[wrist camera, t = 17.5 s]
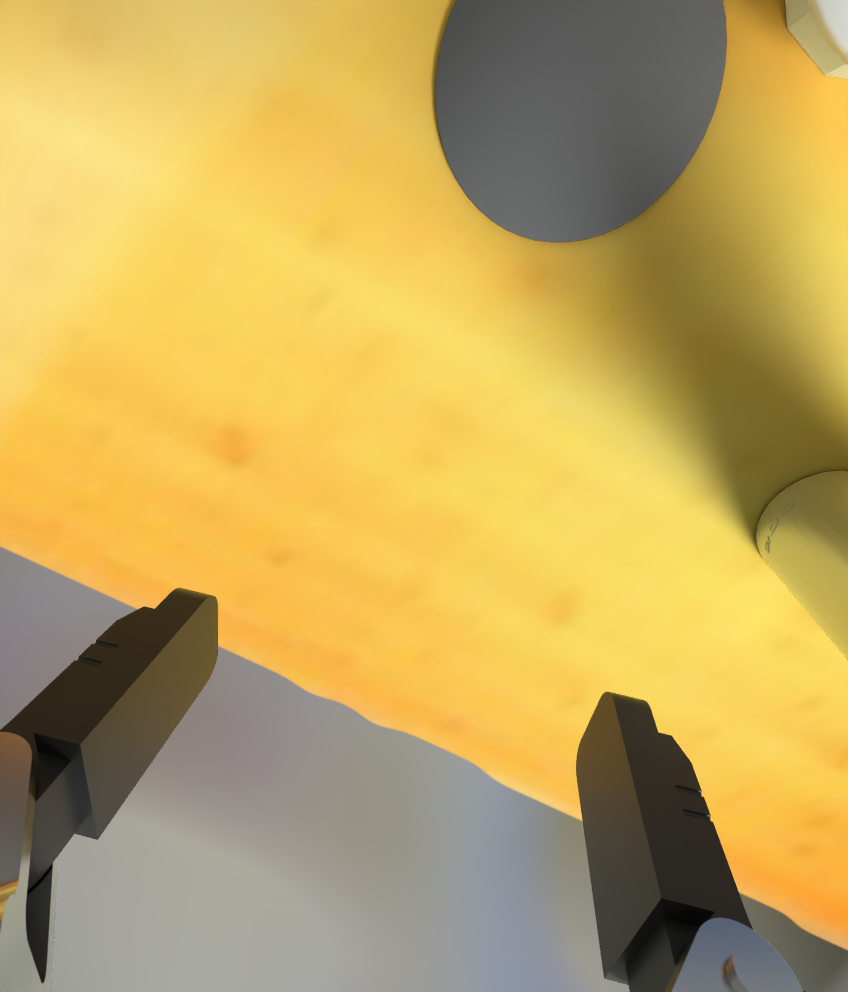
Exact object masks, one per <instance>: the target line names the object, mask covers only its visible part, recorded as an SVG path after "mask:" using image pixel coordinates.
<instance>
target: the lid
mask: <svg viewBox="0 0 848 992" xmlns="http://www.w3.org/2000/svg"><path fill="white" fill-rule="evenodd" d="M807 1H808V5H809V8H810V11H811V13H812V16H813V18H814V20H815V23H816V25H817V27H818V29H819V31H820V33H821V34H822V36H823V37H824V39H825V40H826V42H827V43H828V45H829V47H830V48H831V49H832V50H833V51H834V52H835V53H836V54H837V55H838V57H839V58H840V59H841V60H842V61H843V62H844V63H845V64H847V65H848V0H807Z"/></svg>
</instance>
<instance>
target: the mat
mask: <svg viewBox="0 0 848 992" xmlns="http://www.w3.org/2000/svg"><path fill="white" fill-rule="evenodd" d="M726 44H727V36H726V16H725V11H724V5H723V0H457V1H456V3H455V5H454V8H453V10H452V12H451V15H450V17H449V20H448V23H447V27H446V30H445V33H444V36H443V39H442V44H441V49H440V54H439V59H438V66H437V77H436V112H437V121H438V128H439V133H440V137H441V141H442V146H443V149H444V152H445V155H446V157H447V160H448V163H449V166H450V168H451V170H452V172H453V174H454V176H455V178H456V180H457V182H458V183H459V185H460V186H461V188H462V189H463V191H464V192H465V194H466V195H467V197H468V198H469V199H470V200H471V201H472V203H473V204H474V205H475V206H476V207H477V208H478V209H479V210H480V211H481V212H482V213H483V214H484V215H485V216H487V217H488V218H489V219H490V220H491V221H493V222H494V223H496V224H497V225H499V226H501V227H502V228H504V229H505V230H508V231H510V232H512V233H514V234H517V235H519V236H522V237H525V238H529V239H533V240H536V241H545V242H572V241H578V240H584V239H588V238H591V237H595V236H598V235H601V234H604V233H606V232H609V231H611V230H613V229H615V228H618V227H620V226H622V225H623V224H625V223H627V222H628V221H630V220H632V219H633V218H635V217H636V216H638V215H639V214H640V213H642V212H643V211H644V210H646V209H647V208H648V207H649V206H651V205H652V204H653V203H654V202H655V201H656V200H657V199H658V198H659V197H660V196H662V195H663V194H664V193H665V192H666V191H667V190H668V189H669V187H670V186H671V185H672V184H673V183H674V181H675V180H676V179H677V178H678V177H679V175H680V174H681V173H682V172H683V170H684V169H685V167H686V166H687V164H688V163H689V161H690V160H691V158H692V157H693V155H694V154H695V152H696V150H697V148H698V146H699V144H700V142H701V140H702V139H703V137H704V135H705V133H706V130H707V128H708V125H709V123H710V121H711V118H712V116H713V113H714V110H715V107H716V103H717V100H718V97H719V93H720V90H721V85H722V79H723V74H724V68H725V58H726Z"/></svg>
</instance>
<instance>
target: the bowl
mask: <svg viewBox="0 0 848 992" xmlns="http://www.w3.org/2000/svg"><path fill="white" fill-rule="evenodd" d="M785 5H786V20H787V29H788V30H789V32H790V33H791V34H792V35H793V37H794V38H795V39H796V40H797V42H798V43H799V44H800V45H801V47H802V48H803V49H804V50H805V52H806V53H807V54H808V55H809V57H810V58H811V59H812V60H813V62H814V63H815V64H816V65H817V67H818V68H819V69H820V70H821V72H822V73H823V74H824V75H826V76H832V77H838V78H843V79H848V65H847V64H845V63H844V62H843V61H842V60H841V59H840V58H839V57H838V55H837V54H836V53H835V52H834V51H833V50H832V49H831V48H830V47H829V45H828V43H827V42H826V40H825V39H824V37H823V36H822V34H821V33H820V31H819V29H818V27H817V25H816V23H815V20H814V18H813V16H812V13H811V11H810V8H809V5H808V1H807V0H785Z"/></svg>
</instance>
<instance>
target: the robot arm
mask: <svg viewBox="0 0 848 992" xmlns="http://www.w3.org/2000/svg"><path fill="white" fill-rule="evenodd" d="M756 542H757V547H758V550H759V552H760V554H761V556H762V558H763V559H764V560H765V561H766V562H767V564H768V565H769V566H770V567H771V569H772V570H773V571H774V572H775V573H776V575H777V576H778V577H779V578H780V579H781V581H782V582H783V583H784V584H785V585H786V587H787V588H788V589H789V591H790V592H791V593H792V594H793V595H794V597H795V598H796V599H797V600H798V601H799V603H800V604H801V605H802V606H803V607H804V608H805V610H806V611H807V612H808V613H809V614H810V616H811V617H812V618H813V619H814V620H815V622H816V623H817V624H818V625H819V626H820V627H821V629H822V630H823V631H824V632H825V633H826V635H827V636H828V637H829V638H830V639H831V641H832V642H833V643H834V644H835V645H836V646H837V648H838V649H839V650H840V651H841V652H842V654H843V655H844V656H845V657H846V658H847V660H848V471H830V472H823V473H819V474H815V475H812V476H809V477H806V478H804V479H802V480H800V481H797V482H795V483H793V484H791V485H790V486H789V487H787V488H786V489H784V490H783V491H782V492H780V493H779V494H778V495H777V496H776V497H775V498H774V499H773V500H772V501H771V502H770V503H769V504H768V506H767V507H766V509H765V510H764V512H763V513H762V515H761V517H760V520H759V522H758V525H757V531H756ZM217 655H218V602H217V599H216V597H215V596H212V595H208V594H204V593H199V592H195V591H191V590H187V589H183V588H177V589H175V590H173V591H172V592H171V593H170V594H169V595H168V596H167V597H166V598H165V599H164V600H163V601H162V602H161V603H160V604H159V605H158V606H157V607H156V608H155V609H152V608H148V607H142V608H140V609H138V610H136V611H134V612H132V613H130V614H128V615H127V616H125V617H123V618H121V619H119V620H117V621H116V622H115V623H114V624H113V625H112V626H111V627H109V628H108V630H106V631H105V632H104V633H103V634H102V635H101V636H100V637H99V638H98V639H97V640H96V643H95V644H91V646H89V647H88V648H87V649H86V650H85V651H84V652H83V653H82V654H81V655H80V656H79V659H78V660H77V661H74V662H72V663H71V664H70V665H69V666H68V667H67V668H66V669H65V670H64V671H63V672H62V673H61V674H60V675H59V676H58V677H57V678H56V679H55V680H53V682H51V683H50V684H49V685H48V686H47V687H46V688H45V689H44V690H43V691H42V692H41V693H40V694H39V695H38V696H37V697H35V699H33V700H32V701H31V702H30V703H29V704H28V705H27V706H26V707H25V708H24V709H23V710H22V711H21V712H20V713H19V714H18V715H17V716H15V717H14V718H13V719H12V720H11V721H10V722H9V723H8V724H7V725H6V726H4V727H3V728H2V729H1V730H0V992H52V977H53V957H54V939H55V919H56V900H57V881H58V855H59V853H60V852H61V851H62V850H63V848H64V847H65V846H66V844H67V843H68V842H69V840H70V839H71V838H72V836H73V835H74V833H75V834H78V835H82V836H86V837H90V838H93V839H97V840H98V838H99V837H100V836H101V834H102V833H103V831H104V830H105V829H106V827H107V826H108V824H109V823H110V821H111V820H112V818H113V817H114V815H115V814H116V813H117V811H118V810H119V808H120V807H121V805H122V804H123V802H124V801H125V799H126V798H127V797H128V795H129V794H130V792H131V791H132V790H133V788H134V787H135V785H136V784H137V782H138V781H139V780H140V778H141V776H142V775H143V774H144V772H145V771H146V769H147V768H148V767H149V765H150V764H151V762H152V761H153V759H154V758H155V756H156V755H157V754H158V752H159V751H160V749H161V748H162V746H163V745H164V744H165V742H166V741H167V739H168V738H169V736H170V735H171V734H172V732H173V731H174V729H175V728H176V726H177V725H178V723H179V722H180V721H181V719H182V718H183V716H184V715H185V713H186V712H187V710H188V709H189V707H190V706H191V705H192V703H193V702H194V700H195V699H196V697H197V696H198V695H199V693H200V692H201V690H202V689H203V687H204V686H205V685H206V683H207V681H208V680H209V678H210V676H211V674H212V672H213V669H214V666H215V664H216V660H217ZM576 775H577V783H578V790H579V797H580V805H581V812H582V819H583V826H584V834H585V841H586V848H587V856H588V863H589V871H590V878H591V885H592V892H593V900H594V907H595V914H596V922H597V929H598V936H599V943H600V951H601V959H602V965H603V973H604V978H605V979H608V980H612V981H616V982H619V983H623V984H627V985H629V989H630V992H805V991H804V990H802V988H801V986H800V984H799V982H798V980H797V978H796V977H795V975H794V973H793V972H792V970H791V969H790V967H789V966H788V965H787V963H786V962H785V960H784V959H783V958H782V957H781V956H780V954H779V953H778V952H777V951H776V950H775V949H774V948H773V947H772V946H771V945H770V944H769V943H768V942H767V941H766V940H765V939H764V938H762V937H761V936H760V935H759V934H758V933H756V932H755V931H754V930H753V928H752V926H751V924H750V921H749V919H748V917H747V914H746V911H745V909H744V906H743V903H742V900H741V898H740V895H739V892H738V889H737V887H736V884H735V881H734V878H733V876H732V873H731V870H730V867H729V865H728V862H727V859H726V856H725V854H724V851H723V848H722V845H721V843H720V840H719V837H718V835H717V832H716V829H715V826H714V824H713V822H711V821H710V816H711V815H710V813H709V810H708V807H707V804H706V802H705V799H704V797H702V796H701V792H702V791H701V788H700V785H699V782H698V780H697V777H696V774H695V772H694V769H693V766H692V763H691V762H690V760H689V759H688V758H687V756H686V755H685V753H684V752H683V751H682V749H681V748H680V747H679V745H678V744H677V743H676V741H675V740H674V739H673V737H672V736H670V735H666V734H662V733H658V730H657V727H656V724H655V721H654V718H653V715H652V712H651V709H650V706H649V704H648V703H647V702H646V701H644V700H641V699H636V698H632V697H628V696H624V695H620V694H616V693H611V692H605V693H604V694H603V695H602V696H601V698H600V700H599V702H598V705H597V707H596V709H595V711H594V713H593V715H592V718H591V720H590V722H589V724H588V726H587V728H586V731H585V733H584V735H583V737H582V739H581V742H580V744H579V748H578V753H577V761H576Z"/></svg>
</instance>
